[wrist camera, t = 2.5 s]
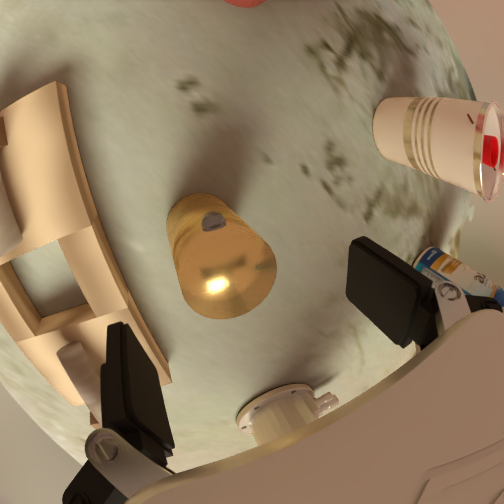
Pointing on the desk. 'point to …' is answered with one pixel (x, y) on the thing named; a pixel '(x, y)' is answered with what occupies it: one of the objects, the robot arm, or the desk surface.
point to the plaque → (245, 2)
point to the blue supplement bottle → (456, 274)
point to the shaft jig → (72, 244)
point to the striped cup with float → (445, 140)
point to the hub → (218, 258)
